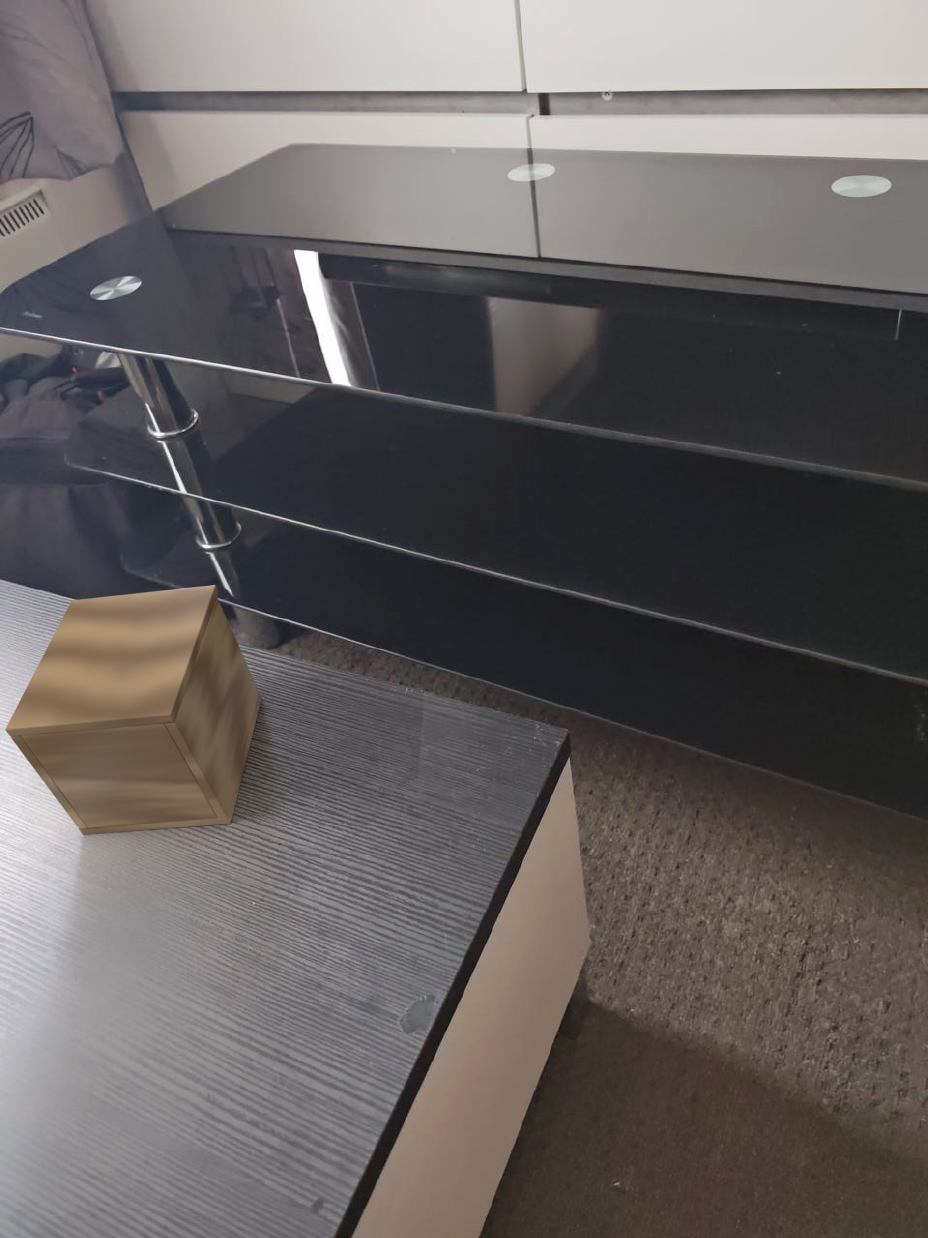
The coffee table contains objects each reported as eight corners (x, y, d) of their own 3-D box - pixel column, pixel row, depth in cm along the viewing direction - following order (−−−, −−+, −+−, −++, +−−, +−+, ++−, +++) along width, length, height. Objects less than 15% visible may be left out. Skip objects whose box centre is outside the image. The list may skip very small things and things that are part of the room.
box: (131, 710, 85) (73, 612, 77) (262, 698, 83) (217, 596, 75) (82, 834, 75) (10, 737, 66) (230, 824, 73) (175, 722, 65)
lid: (75, 607, 77) (71, 600, 76) (218, 592, 75) (215, 584, 75) (9, 737, 66) (4, 729, 66) (174, 722, 65) (170, 714, 64)
